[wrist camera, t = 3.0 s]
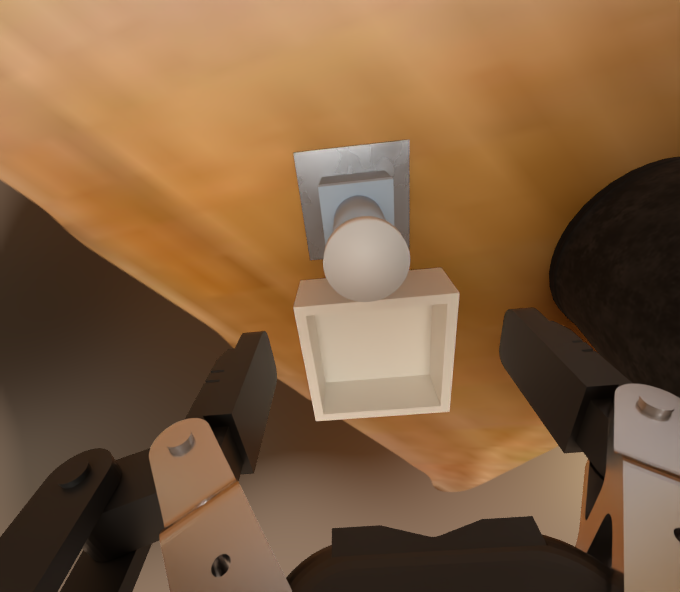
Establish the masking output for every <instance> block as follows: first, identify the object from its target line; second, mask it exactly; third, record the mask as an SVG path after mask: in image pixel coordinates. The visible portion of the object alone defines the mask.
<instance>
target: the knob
mask: <svg viewBox="0 0 680 592" xmlns="http://www.w3.org/2000/svg"><path fill="white" fill-rule="evenodd" d="M318 191H319V199H320V207H321V214H322V222H323V230H324V237H325V245H326V246H325V251H324V259H323V268H324V273H325V276H326V279H327V280H328V282H329V284H330V285H331V287H332V288H333V289H334V290H335V291H336V292H337V293H339V294H340V295H342V296H343V297H345V298H347V299H350V300H353V301H358V302H372V301H377V300H380V299H383V298H385V297H387V296H389V295H391V294H392V293H394V292H395V291H396V290H397V289H398V288H399V287H400V286H401V285H402V283H403V282H404V280H405V278H406V277H407V274H408V271H409V267H410V253H409V249H408V246H407V244H406V242H405V240H404V238H403V237H402V235H401V233H400V232H399V231H398V229H397V228H396V227H395V226H394V184H393V178H392V177H391V176H390V175H389V174H388V173H387V172H386V171H385V170H381V171H372V172H363V173H354V174H344V175H335V176H326V177H322V178H321V180H320V183H319V186H318Z"/></svg>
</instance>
